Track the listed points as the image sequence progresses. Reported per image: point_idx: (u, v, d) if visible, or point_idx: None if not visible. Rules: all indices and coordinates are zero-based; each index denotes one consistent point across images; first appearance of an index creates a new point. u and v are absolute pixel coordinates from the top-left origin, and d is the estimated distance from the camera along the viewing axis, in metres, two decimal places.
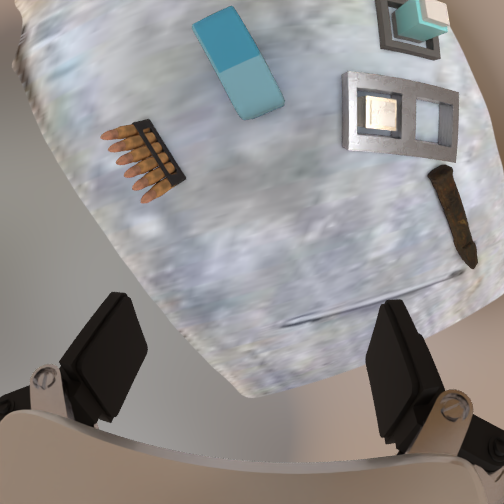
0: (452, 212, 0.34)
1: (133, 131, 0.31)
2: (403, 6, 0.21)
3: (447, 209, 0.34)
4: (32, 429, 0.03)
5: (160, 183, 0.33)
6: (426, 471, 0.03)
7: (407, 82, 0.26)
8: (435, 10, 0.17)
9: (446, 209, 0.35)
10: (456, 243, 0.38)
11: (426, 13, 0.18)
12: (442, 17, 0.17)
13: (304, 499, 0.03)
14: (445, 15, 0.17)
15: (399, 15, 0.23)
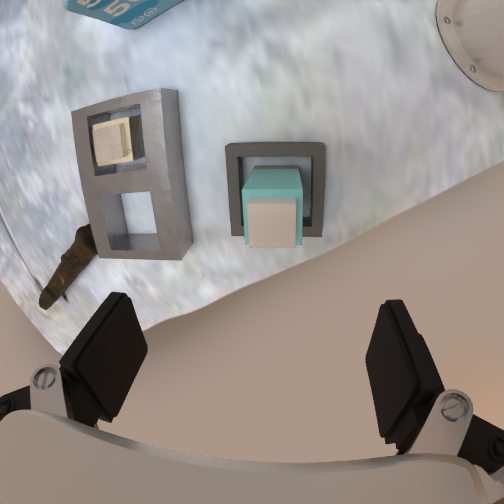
0: (62, 262, 0.31)
1: None
2: (296, 176, 0.22)
3: (63, 256, 0.31)
4: (32, 429, 0.03)
5: None
6: (426, 471, 0.03)
7: (164, 176, 0.23)
8: (269, 222, 0.18)
9: (64, 254, 0.31)
10: None
11: (257, 202, 0.18)
12: (259, 234, 0.18)
13: (305, 499, 0.03)
14: (267, 241, 0.19)
15: (284, 171, 0.23)
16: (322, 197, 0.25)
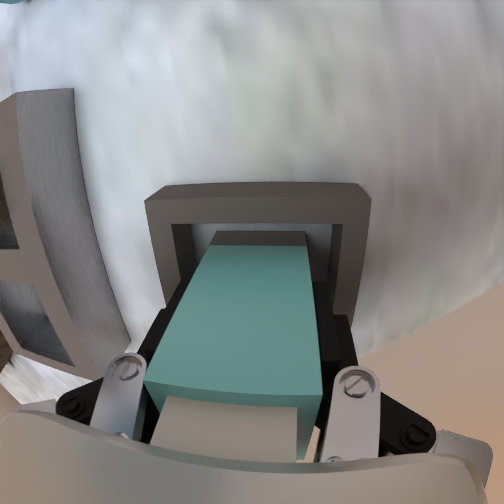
0: None
1: None
2: (302, 291, 0.09)
3: None
4: (32, 429, 0.03)
5: None
6: (426, 471, 0.03)
7: (44, 265, 0.10)
8: None
9: None
10: None
11: (179, 441, 0.05)
12: None
13: (304, 500, 0.03)
14: None
15: (275, 262, 0.10)
16: (352, 304, 0.12)
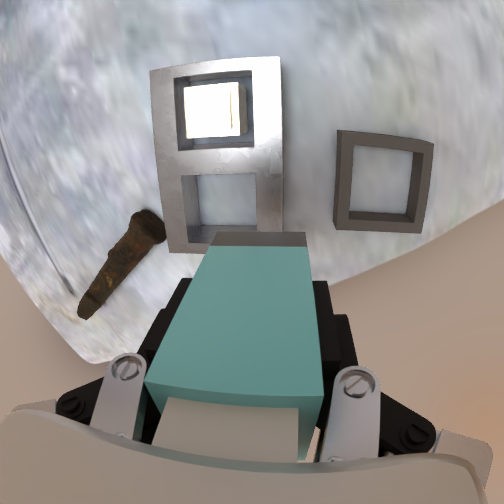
0: (110, 259, 0.28)
1: None
2: (303, 292, 0.09)
3: (111, 251, 0.28)
4: (32, 429, 0.03)
5: None
6: (426, 471, 0.03)
7: (277, 158, 0.20)
8: None
9: (111, 249, 0.28)
10: None
11: (181, 442, 0.05)
12: None
13: (304, 499, 0.03)
14: None
15: (276, 263, 0.10)
16: (426, 194, 0.22)
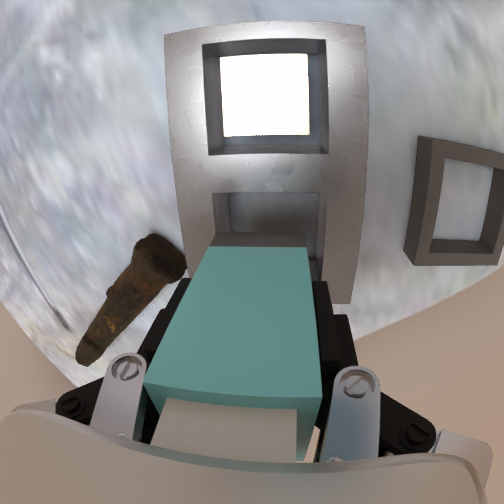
0: (110, 301, 0.21)
1: None
2: (302, 293, 0.09)
3: (110, 290, 0.21)
4: (32, 429, 0.03)
5: None
6: (426, 471, 0.03)
7: (359, 172, 0.13)
8: None
9: (111, 288, 0.21)
10: None
11: (179, 443, 0.05)
12: None
13: (304, 499, 0.03)
14: None
15: (275, 264, 0.10)
16: None
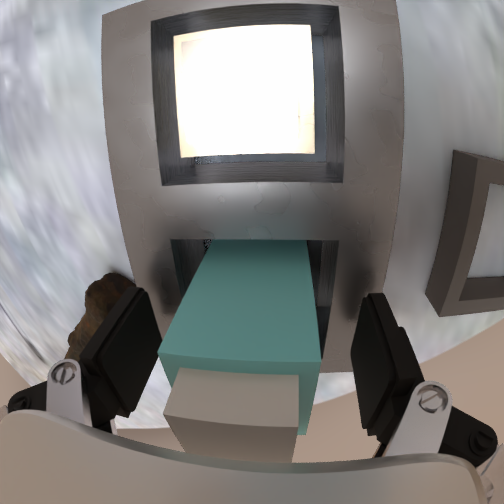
0: (72, 348, 0.16)
1: None
2: (301, 275, 0.10)
3: (71, 336, 0.16)
4: (32, 429, 0.03)
5: None
6: (426, 471, 0.03)
7: (387, 209, 0.09)
8: (227, 444, 0.06)
9: (72, 334, 0.16)
10: None
11: (192, 407, 0.06)
12: (208, 452, 0.06)
13: (304, 500, 0.03)
14: None
15: (276, 250, 0.11)
16: None
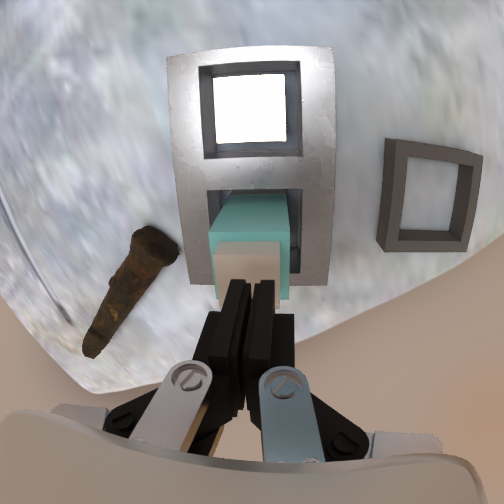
0: (112, 289, 0.23)
1: None
2: (281, 207, 0.17)
3: (112, 279, 0.23)
4: (32, 429, 0.03)
5: None
6: (426, 471, 0.03)
7: (329, 170, 0.17)
8: (244, 278, 0.13)
9: (113, 277, 0.23)
10: None
11: (227, 252, 0.13)
12: None
13: (304, 499, 0.03)
14: None
15: (268, 199, 0.19)
16: (474, 210, 0.18)
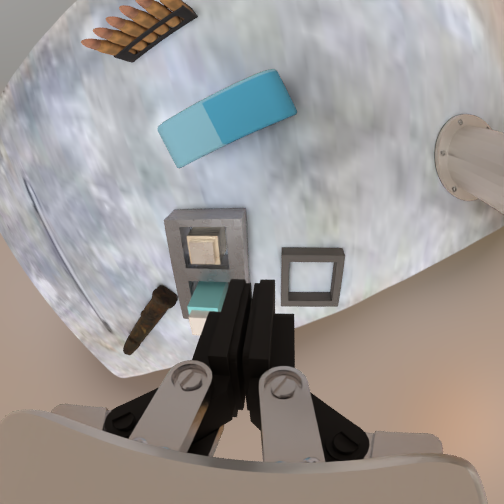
0: (143, 317, 0.45)
1: (171, 8, 0.21)
2: (220, 290, 0.39)
3: (142, 312, 0.45)
4: (32, 430, 0.03)
5: (112, 47, 0.23)
6: (426, 471, 0.03)
7: (242, 275, 0.38)
8: (200, 325, 0.35)
9: (142, 311, 0.45)
10: None
11: (193, 315, 0.35)
12: (196, 330, 0.35)
13: (304, 499, 0.03)
14: (200, 333, 0.36)
15: (217, 283, 0.40)
16: (340, 284, 0.39)
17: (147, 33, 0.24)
